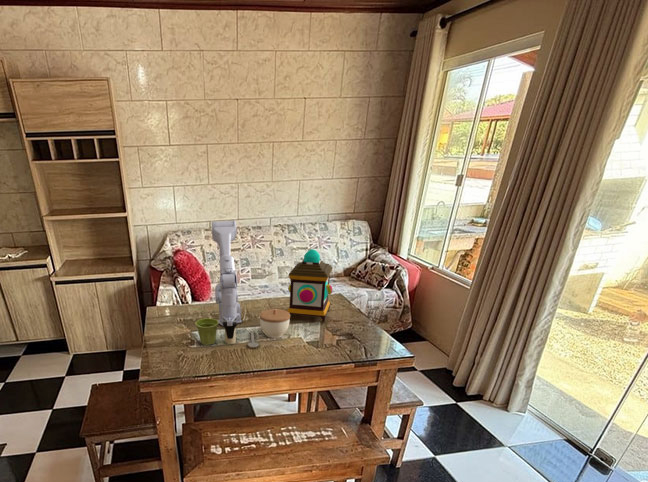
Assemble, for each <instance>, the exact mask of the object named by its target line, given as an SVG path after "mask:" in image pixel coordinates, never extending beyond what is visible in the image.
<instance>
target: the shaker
mask: <svg viewBox="0 0 648 482" xmlns="http://www.w3.org/2000/svg"><path fill="white" fill-rule="evenodd" d="M224 322H226V321H224ZM233 322H236V321H235V320H234V321H233ZM236 329H237V326H236V327H235V330H234V336H233V339H228V338H227V334H226V330H225V329H224V342H225V344H229V345H233V344H235V343H236V342H237V333H236V332H237V331H236Z"/></svg>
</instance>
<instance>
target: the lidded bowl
mask: <svg viewBox="0 0 648 482" xmlns="http://www.w3.org/2000/svg"><path fill="white" fill-rule="evenodd" d="M290 319H291V315H290V313H289V312H288V311H287V310H286V309H281V308H269V309H264V310H262V311H260V313H259V326H260V329H261V331H262V332H263V333H264V334H265V336H266V337H268V338H270V339H279V338H281V337H283V336H284V334H286V333H287V331H288V330H289V327H290V322H291V320H290Z"/></svg>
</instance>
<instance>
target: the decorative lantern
mask: <svg viewBox="0 0 648 482" xmlns="http://www.w3.org/2000/svg"><path fill="white" fill-rule="evenodd" d="M333 269H334V268H333V266H332V265H330V264H329V263H326V262H325V261H323V260H322V258H321V254H320V253H319V252H318V251H317V250H316V249H314V248H310V249H309V250H308V251H307V252H305V254H304V255H303V259H302V261H299V262H297V263H296V264H295V266H294V267H293V268H292V270H291V271H290V272H289V273H288V278H289V280H290V281H289V282H290V285H288V287H287V289H288V293H289V307H288V308H287V310H286V311H288V312H289V313H290V316H291V315H294V316H306V317H315V318H316V317H317V318H320V320H321V323H322V324H324V323H325V322H326V316H327V313H328V311H330V308H331V303H330V300H329V295H332V293H333V286H332V285H331V284H330V279H331V273H332V271H333Z"/></svg>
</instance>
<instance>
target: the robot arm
mask: <svg viewBox="0 0 648 482" xmlns="http://www.w3.org/2000/svg"><path fill="white" fill-rule="evenodd" d="M211 236H212V240H213V242H215V243H216V244H217V245H218V250H219V251H218V252H219V259H218V261H219V273H220V274H219V282H218V283H217V284H216V285H215V287H214V288H215V289H214V296H215V298H214V299H215V303H216V304H217V305H218V319H217V320H218V322H219V323H218V325H220V326H223V329H224V331H225V330H226V334H227V338H228V339H233V336H234V330H235V327H236V328H237V325H238V324H240V323H242V322H243V321H242V307H241V305H240V303H239V302H238V301H239V293H238V275H237V270H236V267H235V266H236V265H235V258H234V257H233V256H232V254H231V252H232V249H231V247H232V245H231V244H232V242H234V241H235V240H236V239H237V222H236V220H234V219H233V220H216V221H215V220H212V221H211ZM234 320H235V321H236V322H233V321H234ZM224 321H226V322H224Z"/></svg>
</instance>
